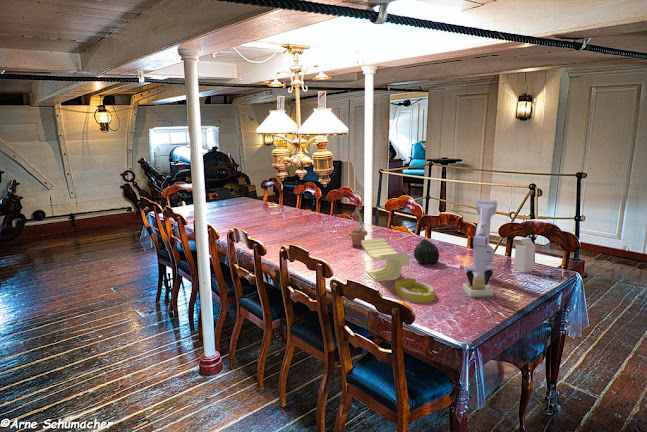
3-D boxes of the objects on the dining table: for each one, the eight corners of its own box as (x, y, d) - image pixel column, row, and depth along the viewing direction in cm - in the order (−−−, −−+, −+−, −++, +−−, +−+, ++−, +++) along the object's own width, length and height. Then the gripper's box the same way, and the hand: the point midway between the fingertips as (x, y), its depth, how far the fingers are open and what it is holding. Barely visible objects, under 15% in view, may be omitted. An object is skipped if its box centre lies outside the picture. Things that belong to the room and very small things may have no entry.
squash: (440, 259, 244) (438, 236, 251) (414, 259, 247) (413, 236, 254) (438, 268, 256) (437, 246, 263) (414, 268, 259) (413, 246, 266)
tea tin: (471, 289, 209) (472, 276, 208) (480, 289, 210) (480, 276, 208) (475, 293, 205) (476, 279, 203) (484, 292, 205) (485, 279, 204)
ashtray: (413, 285, 221) (414, 276, 220) (441, 298, 203) (442, 289, 202) (389, 291, 213) (389, 282, 212) (415, 306, 195) (415, 296, 194)
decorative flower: (353, 240, 308) (352, 201, 301) (370, 242, 302) (370, 202, 295) (345, 246, 295) (344, 204, 288) (363, 248, 289) (363, 205, 282)
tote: (462, 290, 212) (463, 283, 211) (484, 289, 212) (485, 282, 212) (470, 297, 202) (471, 291, 201) (493, 296, 203) (494, 289, 202)
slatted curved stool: (408, 283, 222) (409, 251, 218) (381, 287, 218) (381, 255, 214) (386, 266, 250) (386, 237, 247) (361, 269, 246) (361, 240, 243)
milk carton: (513, 269, 240) (516, 237, 236) (523, 267, 242) (525, 236, 238) (523, 273, 233) (526, 240, 229) (533, 271, 236) (535, 239, 232)
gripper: (469, 262, 199) (467, 288, 202) (498, 260, 200) (496, 287, 203) (463, 257, 206) (461, 283, 209) (491, 256, 207) (489, 282, 210)
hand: (478, 284), depth 206 cm, fingers open, 7 cm apart
